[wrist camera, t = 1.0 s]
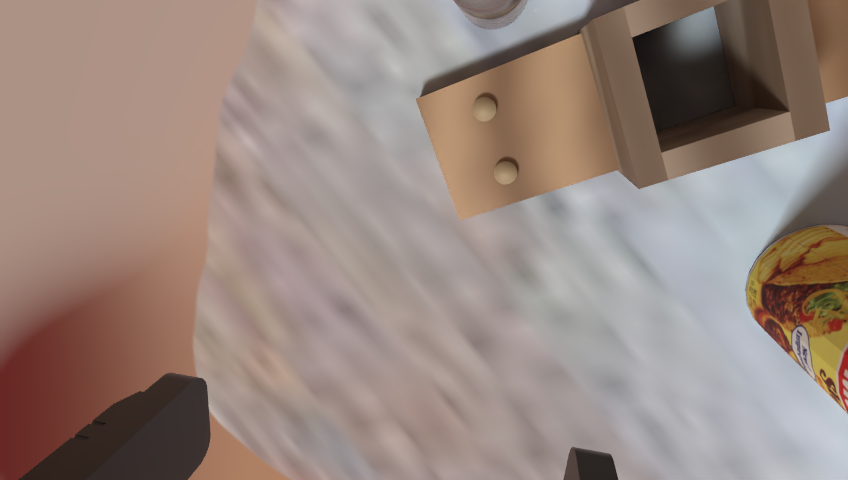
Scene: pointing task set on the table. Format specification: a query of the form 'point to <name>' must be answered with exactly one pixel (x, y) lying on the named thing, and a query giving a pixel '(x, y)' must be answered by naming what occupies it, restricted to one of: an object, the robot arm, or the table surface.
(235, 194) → the table surface
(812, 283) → the canned food
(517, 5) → the hinge pin
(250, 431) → the table surface
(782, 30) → the hinge
